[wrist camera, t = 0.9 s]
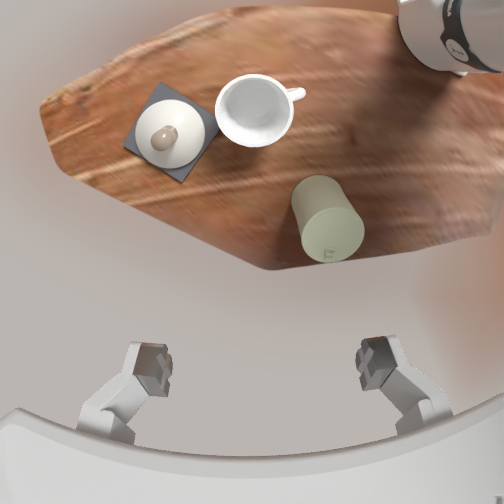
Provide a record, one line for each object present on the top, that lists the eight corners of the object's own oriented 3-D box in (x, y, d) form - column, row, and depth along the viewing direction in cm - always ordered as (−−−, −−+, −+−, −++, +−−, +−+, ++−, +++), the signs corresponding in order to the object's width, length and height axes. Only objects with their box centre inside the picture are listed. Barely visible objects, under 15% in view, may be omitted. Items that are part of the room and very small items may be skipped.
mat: (161, 82, 34) (159, 82, 34) (225, 122, 39) (224, 123, 38) (124, 144, 40) (122, 145, 39) (182, 180, 44) (181, 182, 44)
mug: (238, 138, 40) (234, 158, 32) (214, 88, 35) (202, 93, 27) (305, 114, 38) (320, 126, 29) (283, 61, 33) (293, 57, 25)
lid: (160, 86, 34) (149, 88, 30) (219, 124, 38) (215, 130, 34) (126, 144, 39) (113, 153, 35) (180, 178, 43) (173, 191, 39)
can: (288, 222, 49) (297, 265, 39) (293, 173, 44) (305, 207, 34) (338, 223, 49) (357, 265, 39) (347, 176, 44) (372, 210, 34)
